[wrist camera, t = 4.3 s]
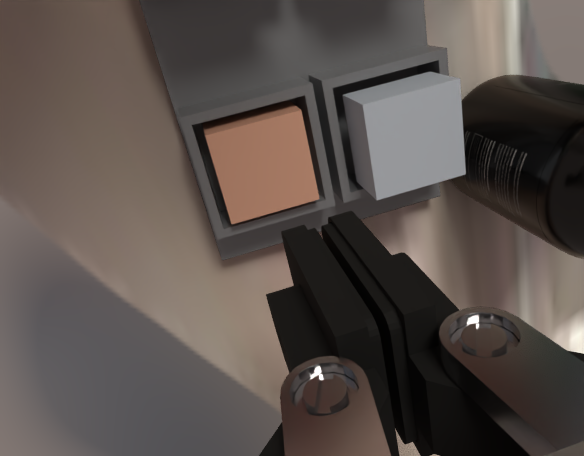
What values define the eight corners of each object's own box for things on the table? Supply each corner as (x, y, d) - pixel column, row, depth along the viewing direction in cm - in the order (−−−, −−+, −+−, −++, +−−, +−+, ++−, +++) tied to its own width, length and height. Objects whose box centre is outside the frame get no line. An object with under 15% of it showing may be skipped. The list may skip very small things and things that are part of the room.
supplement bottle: (508, 211, 29) (704, 327, 18) (416, 172, 27) (578, 279, 16) (574, 101, 27) (836, 159, 16) (480, 49, 25) (714, 77, 14)
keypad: (65, -236, 17) (42, -289, 14) (383, -293, 19) (424, -352, 16) (220, 250, 26) (226, 281, 23) (429, 188, 27) (462, 210, 24)
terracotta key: (202, 123, 22) (205, 135, 19) (288, 100, 22) (301, 110, 20) (226, 204, 23) (231, 224, 21) (306, 181, 24) (319, 199, 22)
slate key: (342, 94, 21) (362, 104, 19) (429, 71, 21) (460, 78, 19) (356, 181, 23) (376, 200, 20) (437, 158, 23) (465, 174, 21)
